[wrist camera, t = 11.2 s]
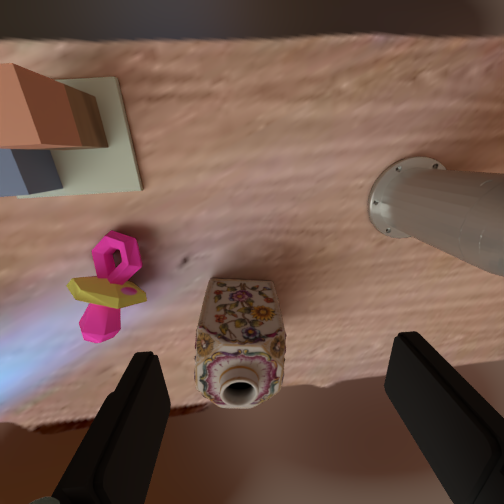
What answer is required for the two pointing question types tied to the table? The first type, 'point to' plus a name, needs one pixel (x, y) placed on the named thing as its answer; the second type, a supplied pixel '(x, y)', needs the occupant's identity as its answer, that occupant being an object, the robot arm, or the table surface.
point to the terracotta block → (34, 111)
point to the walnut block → (85, 120)
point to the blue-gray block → (27, 172)
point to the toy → (108, 287)
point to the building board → (99, 159)
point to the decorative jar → (239, 343)
